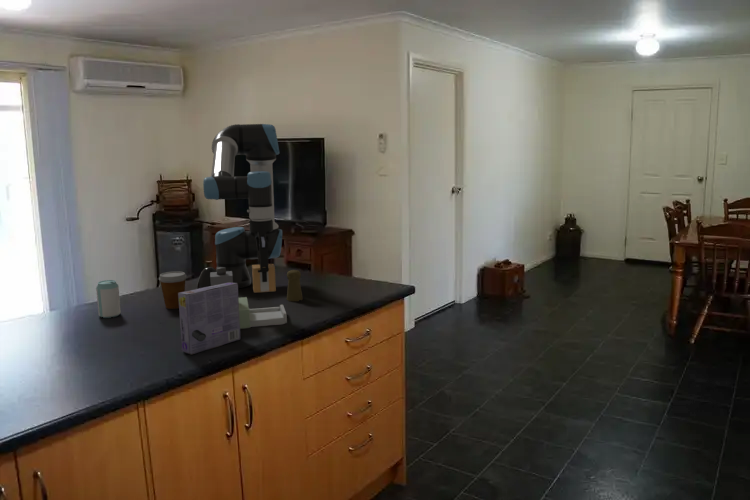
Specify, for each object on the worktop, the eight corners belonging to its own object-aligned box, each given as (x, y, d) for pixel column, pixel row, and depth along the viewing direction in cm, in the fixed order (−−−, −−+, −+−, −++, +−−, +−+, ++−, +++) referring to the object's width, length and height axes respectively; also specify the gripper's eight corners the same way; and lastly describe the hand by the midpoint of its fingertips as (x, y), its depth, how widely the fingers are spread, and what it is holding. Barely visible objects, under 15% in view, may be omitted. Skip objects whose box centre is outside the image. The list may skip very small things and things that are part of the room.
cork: (304, 300, 235) (303, 271, 233) (288, 302, 233) (287, 272, 231) (300, 296, 241) (299, 268, 239) (284, 298, 239) (283, 269, 237)
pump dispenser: (219, 313, 219) (216, 270, 216) (191, 312, 221) (188, 269, 218) (231, 305, 229) (229, 264, 226) (204, 304, 231) (202, 263, 228)
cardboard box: (253, 288, 212) (251, 264, 211) (274, 287, 214) (273, 263, 212) (254, 292, 206) (252, 268, 205) (275, 291, 208) (274, 267, 207)
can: (112, 311, 223) (109, 278, 221) (125, 314, 219) (122, 280, 217) (94, 316, 217) (91, 282, 215) (107, 319, 213) (104, 285, 211)
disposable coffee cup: (167, 311, 222) (164, 278, 220) (156, 306, 230) (154, 273, 227) (192, 306, 228) (190, 274, 226) (182, 301, 235) (179, 270, 233)
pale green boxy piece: (205, 317, 215) (202, 265, 212) (282, 311, 221) (280, 260, 218) (204, 331, 200) (201, 275, 197) (287, 324, 206) (285, 270, 203)
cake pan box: (234, 335, 196) (231, 279, 193) (244, 338, 193) (241, 282, 190) (180, 352, 181) (176, 292, 178) (190, 356, 178) (186, 295, 175)
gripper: (247, 216, 214) (251, 283, 218) (250, 223, 196) (254, 296, 200) (270, 215, 216) (273, 281, 220) (275, 222, 198) (278, 294, 202)
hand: (264, 288), depth 210 cm, fingers closed on cardboard box, 6 cm apart
